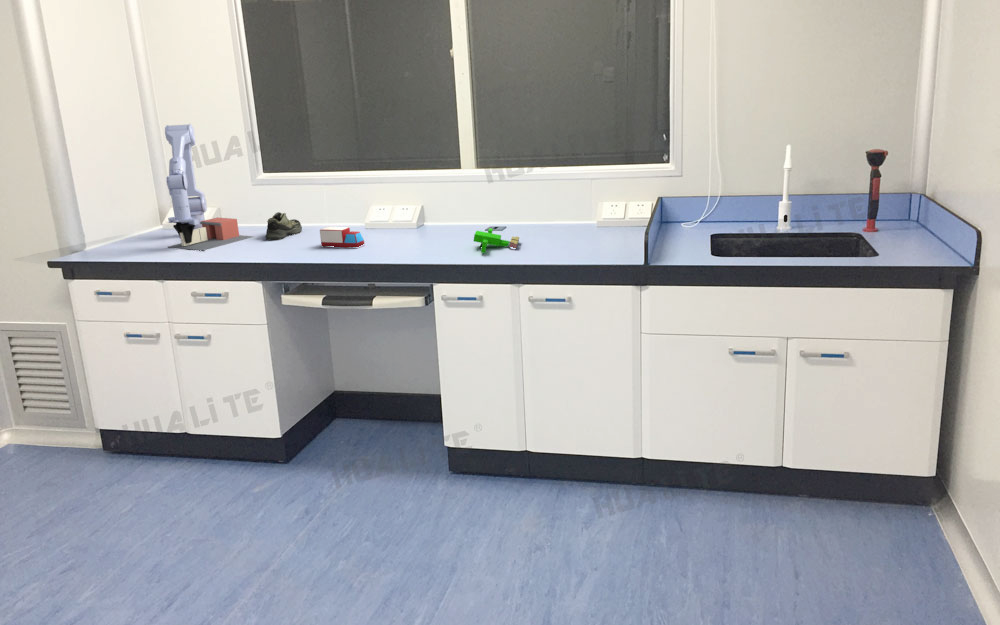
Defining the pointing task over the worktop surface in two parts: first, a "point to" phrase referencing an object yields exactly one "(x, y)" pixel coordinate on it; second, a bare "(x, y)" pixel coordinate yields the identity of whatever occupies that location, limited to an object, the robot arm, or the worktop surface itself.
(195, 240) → the cream rectangular block
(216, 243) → the mat
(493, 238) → the toy
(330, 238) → the toy truck
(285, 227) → the hiking shoe
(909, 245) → the worktop surface
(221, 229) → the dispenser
